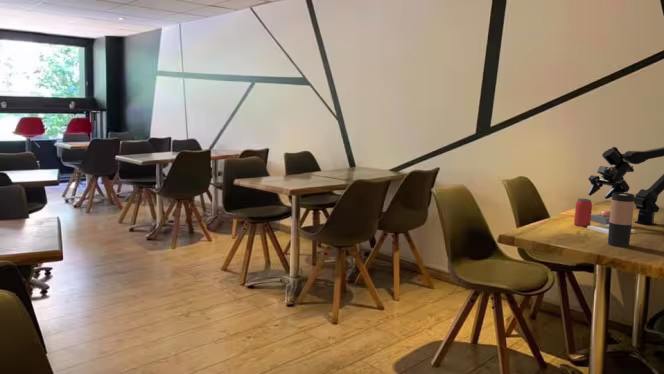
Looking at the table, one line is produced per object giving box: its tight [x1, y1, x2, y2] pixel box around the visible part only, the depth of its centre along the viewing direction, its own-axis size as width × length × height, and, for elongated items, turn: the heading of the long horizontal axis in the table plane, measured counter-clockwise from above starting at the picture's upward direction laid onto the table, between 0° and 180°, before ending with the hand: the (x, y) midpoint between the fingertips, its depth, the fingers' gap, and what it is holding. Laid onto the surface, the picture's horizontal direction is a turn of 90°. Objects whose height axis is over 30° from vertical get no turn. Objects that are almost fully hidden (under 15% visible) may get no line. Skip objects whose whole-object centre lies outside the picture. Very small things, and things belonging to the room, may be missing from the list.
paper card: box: [587, 224, 636, 235], centre depth 221 cm, size 14×12×1 cm
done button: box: [600, 209, 611, 217], centre depth 239 cm, size 4×4×4 cm
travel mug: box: [607, 192, 636, 248], centre depth 195 cm, size 8×8×20 cm
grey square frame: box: [590, 213, 610, 225], centre depth 239 cm, size 9×9×3 cm
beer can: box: [573, 198, 593, 228], centre depth 230 cm, size 7×7×12 cm
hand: (597, 196), depth 231 cm, fingers open, 9 cm apart
